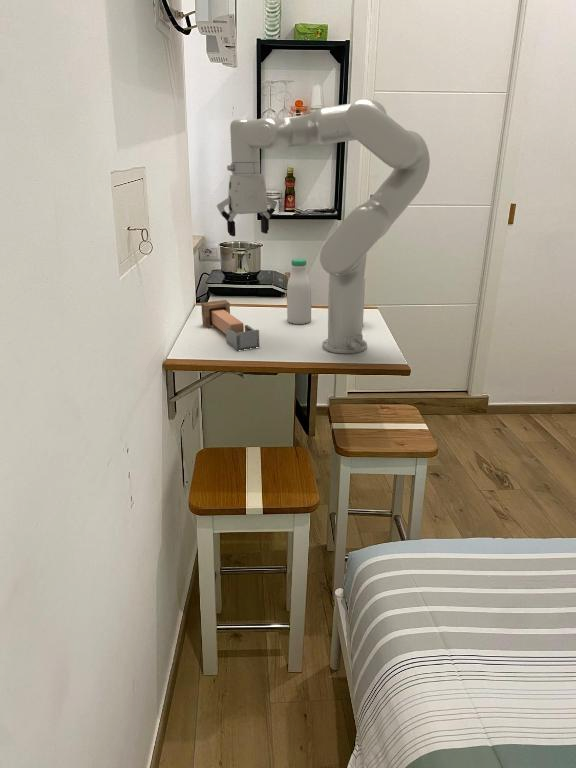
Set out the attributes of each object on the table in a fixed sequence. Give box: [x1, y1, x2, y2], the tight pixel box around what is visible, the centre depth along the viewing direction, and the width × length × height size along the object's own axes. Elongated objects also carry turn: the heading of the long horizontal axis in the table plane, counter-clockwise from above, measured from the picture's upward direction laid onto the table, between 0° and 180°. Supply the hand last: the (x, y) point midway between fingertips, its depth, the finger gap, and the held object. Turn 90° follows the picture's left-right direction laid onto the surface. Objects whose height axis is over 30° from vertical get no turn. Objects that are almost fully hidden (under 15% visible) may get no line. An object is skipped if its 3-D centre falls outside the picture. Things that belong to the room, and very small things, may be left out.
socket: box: [200, 299, 231, 329], centre depth 193 cm, size 4×8×7 cm, turn 115°
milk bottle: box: [286, 258, 312, 325], centre depth 193 cm, size 8×8×20 cm
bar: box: [209, 308, 245, 335], centre depth 185 cm, size 20×4×4 cm, turn 25°
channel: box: [225, 324, 260, 352], centre depth 174 cm, size 9×7×5 cm
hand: (248, 234), depth 170 cm, fingers open, 9 cm apart
